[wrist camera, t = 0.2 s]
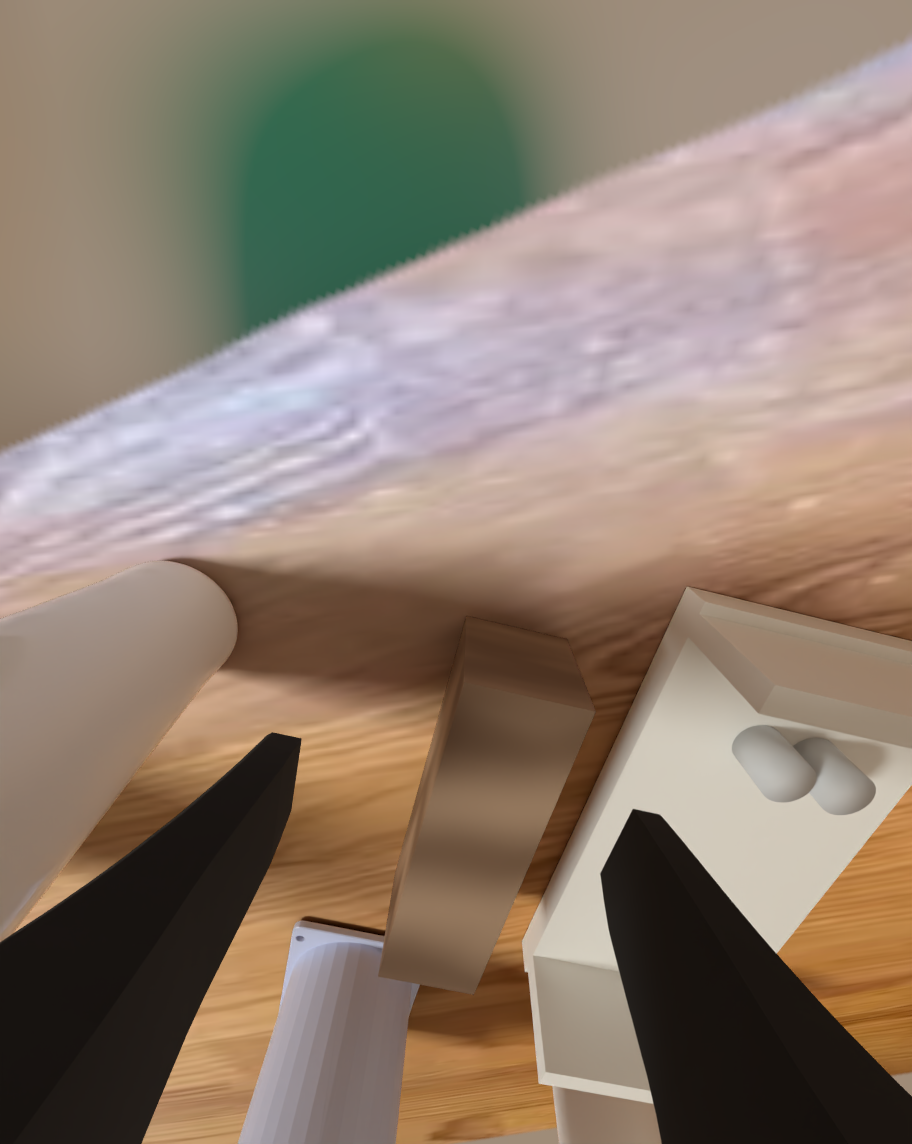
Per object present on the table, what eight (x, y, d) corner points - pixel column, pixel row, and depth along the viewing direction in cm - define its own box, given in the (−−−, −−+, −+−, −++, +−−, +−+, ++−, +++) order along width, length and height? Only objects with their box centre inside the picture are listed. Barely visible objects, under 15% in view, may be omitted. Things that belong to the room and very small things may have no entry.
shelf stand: (716, 979, 27) (781, 1132, 21) (522, 941, 26) (535, 1088, 20) (960, 652, 19) (1171, 761, 13) (687, 586, 18) (784, 670, 12)
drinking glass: (277, 575, 18) (-340, 1126, 4) (242, 701, 21) (-237, 1326, 7) (111, 513, 18) (-1250, 934, 4) (93, 651, 20) (-785, 1230, 6)
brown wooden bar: (473, 883, 25) (473, 994, 20) (395, 867, 25) (378, 976, 20) (566, 636, 19) (595, 711, 15) (466, 613, 19) (464, 682, 14)
